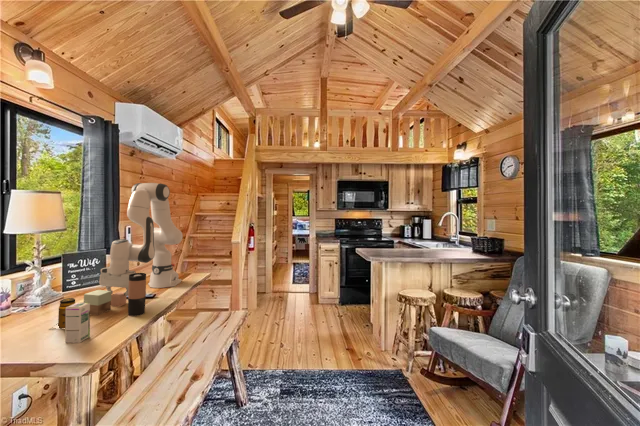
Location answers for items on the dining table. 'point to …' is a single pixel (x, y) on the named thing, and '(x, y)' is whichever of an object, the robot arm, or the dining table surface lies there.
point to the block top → (97, 297)
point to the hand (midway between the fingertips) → (118, 294)
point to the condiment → (64, 311)
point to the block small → (118, 299)
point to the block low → (100, 308)
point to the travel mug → (136, 294)
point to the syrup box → (77, 322)
